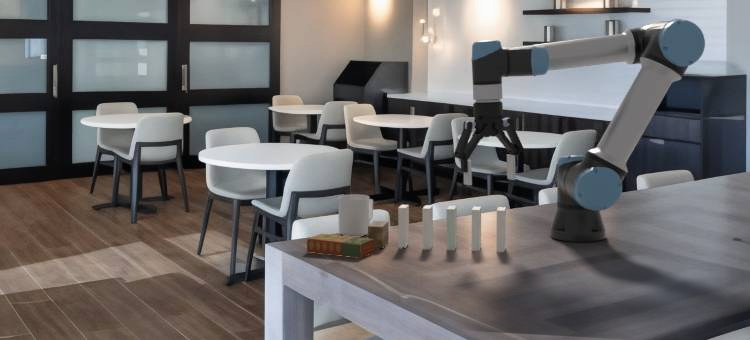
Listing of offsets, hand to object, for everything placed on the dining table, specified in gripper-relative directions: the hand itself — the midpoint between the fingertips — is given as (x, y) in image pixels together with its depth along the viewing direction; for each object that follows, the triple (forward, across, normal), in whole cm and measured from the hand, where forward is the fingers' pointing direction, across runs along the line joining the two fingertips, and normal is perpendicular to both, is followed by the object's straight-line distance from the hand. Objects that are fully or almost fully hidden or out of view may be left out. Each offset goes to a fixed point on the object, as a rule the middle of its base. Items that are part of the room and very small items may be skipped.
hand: (490, 182), depth 226 cm
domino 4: (+18, +4, -2) cm, 18 cm away
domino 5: (+18, -2, +2) cm, 18 cm away
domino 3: (+18, +9, -6) cm, 21 cm away
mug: (+17, +23, -35) cm, 45 cm away
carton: (+17, +37, -16) cm, 43 cm away
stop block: (+17, +24, -19) cm, 35 cm away
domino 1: (+17, +19, -14) cm, 29 cm away
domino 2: (+17, +14, -10) cm, 24 cm away
